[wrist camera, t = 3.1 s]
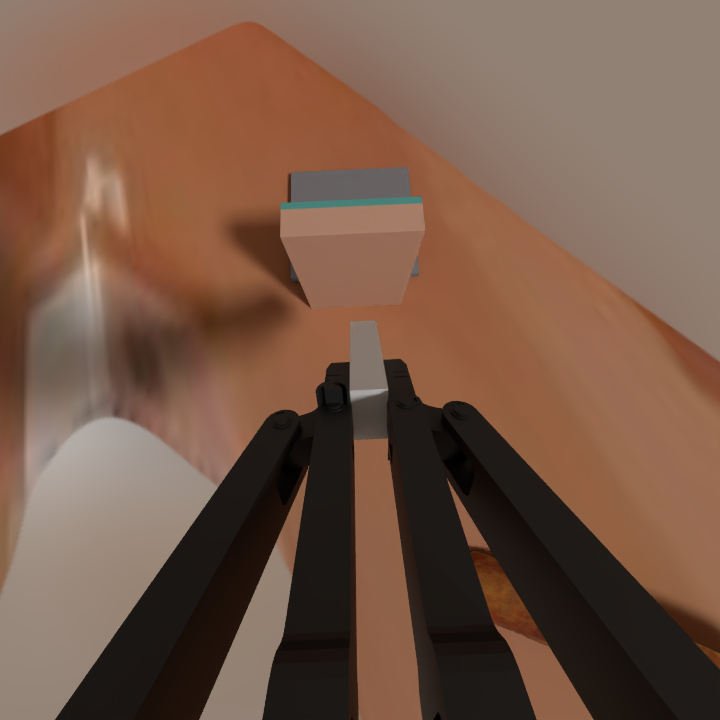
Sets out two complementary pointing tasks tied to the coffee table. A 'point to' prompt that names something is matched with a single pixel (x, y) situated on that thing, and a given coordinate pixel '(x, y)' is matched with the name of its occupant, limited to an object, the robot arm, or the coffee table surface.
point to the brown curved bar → (519, 603)
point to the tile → (353, 249)
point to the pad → (350, 189)
